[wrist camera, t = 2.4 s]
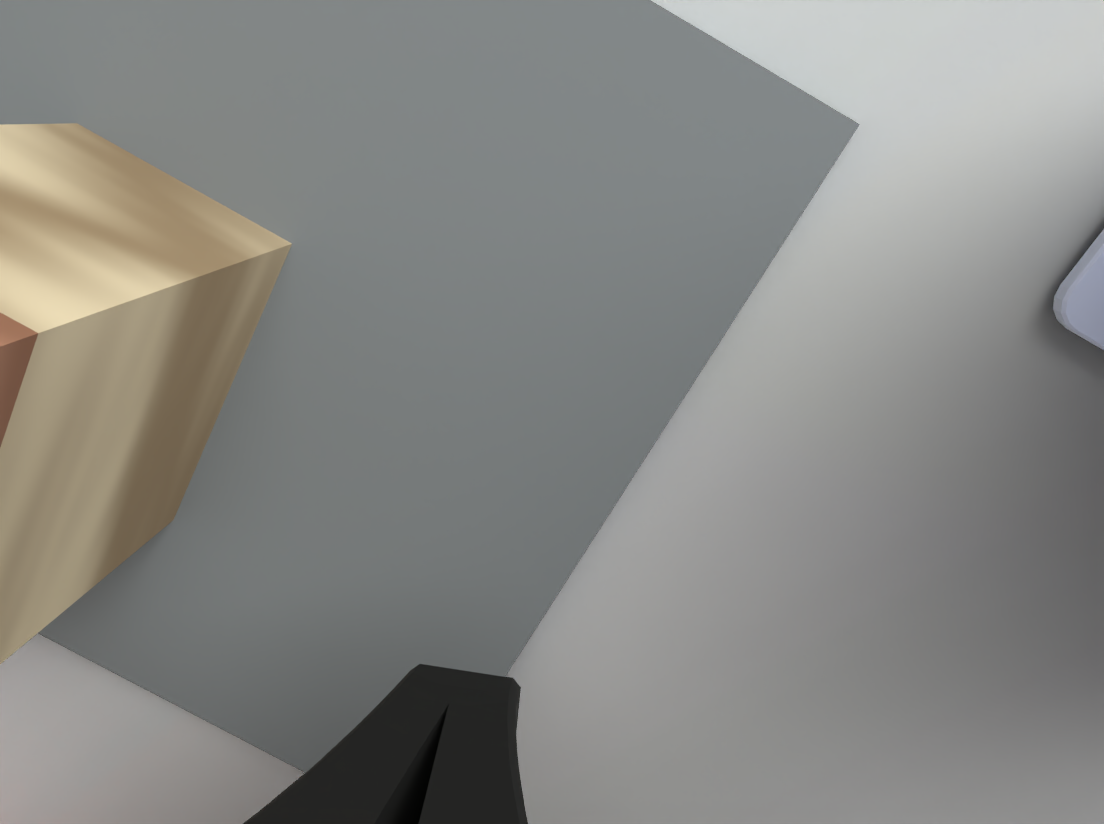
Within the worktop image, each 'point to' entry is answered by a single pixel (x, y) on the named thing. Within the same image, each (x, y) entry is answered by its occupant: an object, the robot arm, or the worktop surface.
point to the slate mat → (418, 314)
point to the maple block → (107, 356)
